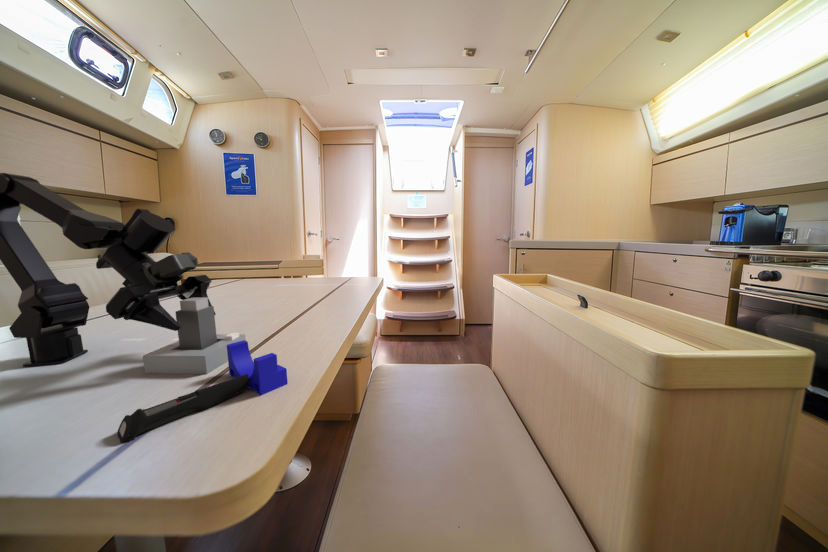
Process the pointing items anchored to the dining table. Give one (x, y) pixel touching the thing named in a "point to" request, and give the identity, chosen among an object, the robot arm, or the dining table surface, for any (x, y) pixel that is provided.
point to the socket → (190, 357)
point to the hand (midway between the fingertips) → (197, 322)
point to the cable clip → (256, 368)
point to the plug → (196, 324)
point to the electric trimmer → (179, 407)
